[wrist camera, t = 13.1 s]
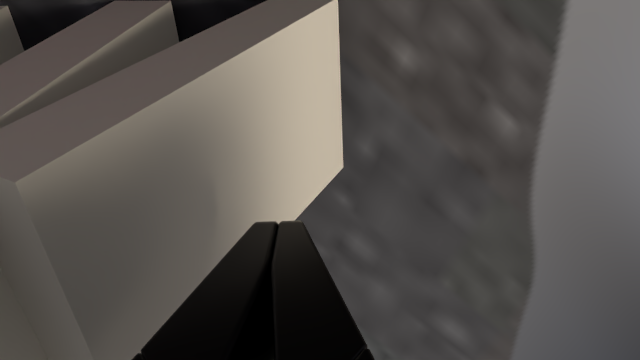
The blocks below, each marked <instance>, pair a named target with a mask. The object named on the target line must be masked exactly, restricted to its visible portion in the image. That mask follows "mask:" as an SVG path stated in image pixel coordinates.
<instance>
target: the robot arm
mask: <svg viewBox="0 0 640 360" xmlns="http://www.w3.org/2000/svg"><path fill="white" fill-rule="evenodd" d="M132 360H375V359H374V357H373V355H372V354H371V352H370V350H369V349H367V344H366V343H365V341H364V339H363V337H362V335H361V333H360V331H359V329H358V327H357V325H356V323H355V321H354V319H353V318H352V316H351V314H350V312H349V310H348V308H347V306H346V304H345V302H344V300H343V298H342V296H341V294H340V293H339V291H338V289H337V287H336V285H335V283H334V281H333V279H332V277H331V275H330V273H329V271H328V270H327V268H326V266H325V264H324V262H323V260H322V258H321V256H320V254H319V252H318V250H317V248H316V246H315V245H314V243H313V241H312V239H311V237H310V235H309V233H308V231H307V229H306V227H305V225H304V223H303V222H302V221H299V220H298V221H281V222H280V223H279V224H278V223H277V222H276V221H262V222H255V223H254V224H253V225H252V226H251V227H250V228H249V229H248V230H247V231H246V232H245V234H244V235H243V236H242V237H241V238H240V239H239V240H238V241H237V243H236V244H235V245H234V246H233V247H232V248H231V249H230V250H229V251H228V253H227V254H226V255H225V256H224V257H223V258H222V259H221V260H220V262H219V263H218V264H217V265H216V266H215V267H214V268H213V269H212V270H211V272H210V273H209V274H208V275H207V276H206V277H205V278H204V279H203V281H202V282H201V283H200V284H199V285H198V286H197V287H196V288H195V290H194V291H193V292H192V293H191V294H190V295H189V296H188V297H187V298H186V300H185V301H184V302H183V303H182V304H181V305H180V306H179V307H178V309H177V310H176V311H175V312H174V313H173V314H172V315H171V316H170V318H169V319H168V320H167V321H166V322H165V323H164V324H163V325H162V326H161V328H160V329H159V330H158V331H157V332H156V333H155V334H154V335H153V337H152V338H151V339H150V340H149V341H148V342H147V343H146V344H145V346H144V347H143V348H142V349H141V353H137V354H136V355H135V356H134V358H133V359H132Z"/></svg>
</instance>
